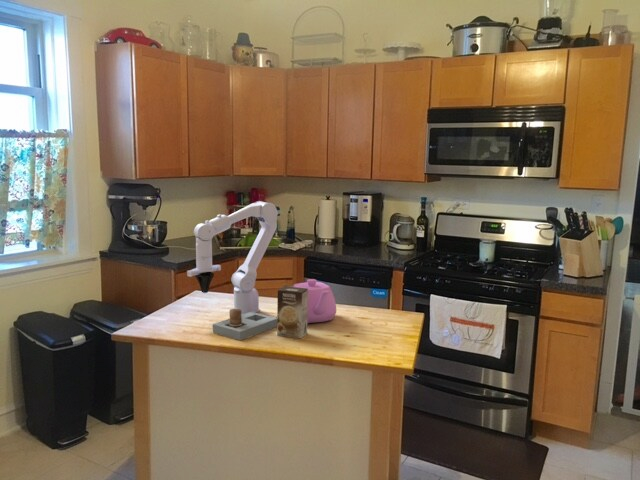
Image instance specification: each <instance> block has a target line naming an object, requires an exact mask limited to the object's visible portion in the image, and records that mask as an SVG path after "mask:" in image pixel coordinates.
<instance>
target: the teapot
mask: <svg viewBox="0 0 640 480" xmlns="http://www.w3.org/2000/svg"><path fill="white" fill-rule="evenodd" d="M292 287H299V288H307V289H308V307H307V325H308V324H311V323H321V322H323V323H325V322H328V321H330V320H333V319H334V318H335V316H336V314H337V304H336V299H335V296H334V293H333V291H332V288H331V287H330V286H329V285H328V284H326V283H324V282H320V281H317V279H315V278H309V279H306V281H305V282H300V283H299V282H298V283H295V284H293V286H292Z"/></svg>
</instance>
